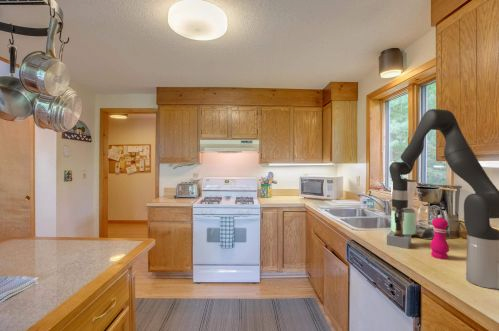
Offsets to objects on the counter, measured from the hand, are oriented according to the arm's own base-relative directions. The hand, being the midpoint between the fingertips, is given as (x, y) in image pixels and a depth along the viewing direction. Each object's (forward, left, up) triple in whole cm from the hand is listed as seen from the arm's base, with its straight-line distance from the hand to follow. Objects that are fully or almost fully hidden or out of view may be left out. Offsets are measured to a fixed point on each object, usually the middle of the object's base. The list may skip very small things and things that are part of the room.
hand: (399, 229), depth 136 cm
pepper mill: (-18, +8, -8) cm, 21 cm away
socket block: (0, 0, -8) cm, 8 cm away
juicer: (+2, -22, -8) cm, 23 cm away
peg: (0, 0, -3) cm, 3 cm away
